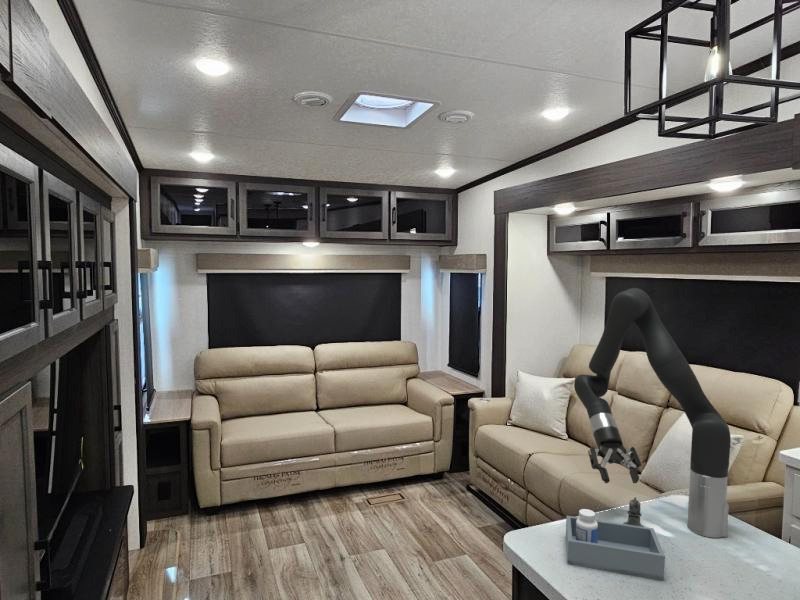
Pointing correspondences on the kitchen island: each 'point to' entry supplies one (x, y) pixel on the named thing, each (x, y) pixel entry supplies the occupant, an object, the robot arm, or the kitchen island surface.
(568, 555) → the tote
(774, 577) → the kitchen island surface
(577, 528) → the pill bottle
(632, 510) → the grey stone chess piece
